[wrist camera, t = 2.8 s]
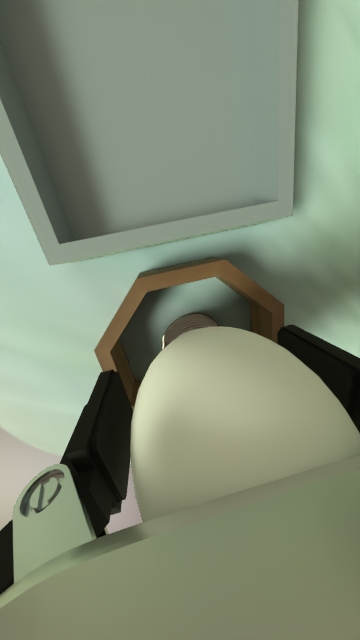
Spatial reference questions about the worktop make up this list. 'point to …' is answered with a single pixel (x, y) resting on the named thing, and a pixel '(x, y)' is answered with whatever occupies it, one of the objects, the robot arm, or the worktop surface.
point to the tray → (147, 118)
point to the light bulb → (228, 418)
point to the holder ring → (262, 304)
